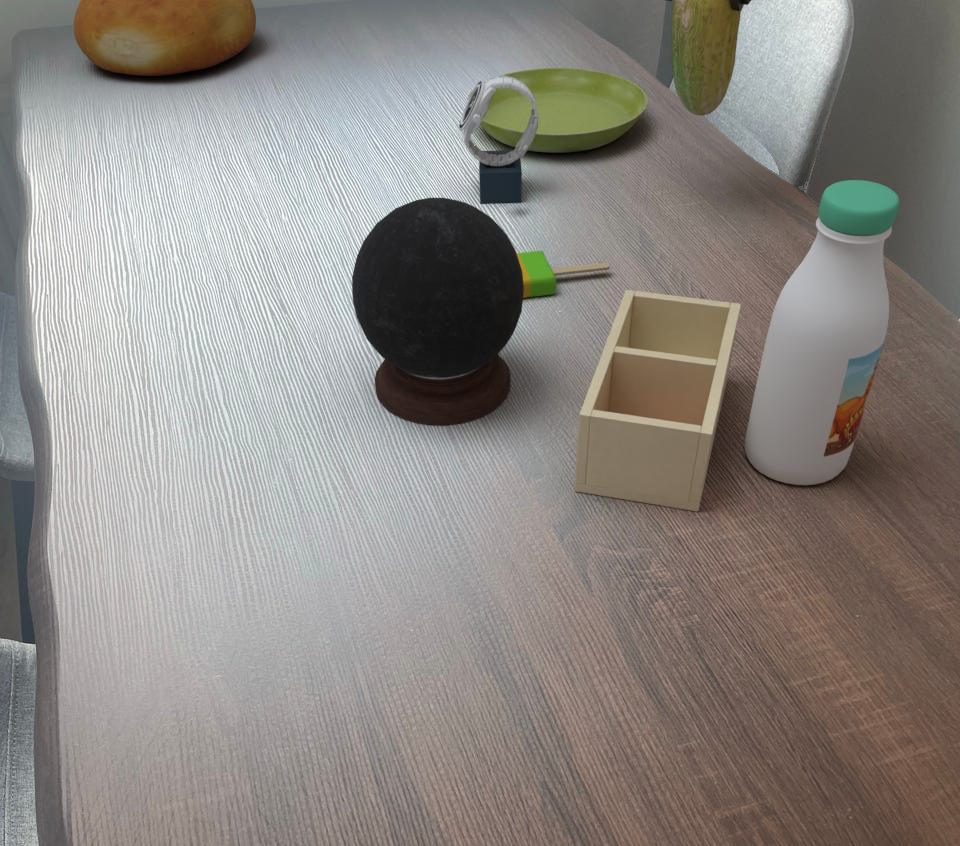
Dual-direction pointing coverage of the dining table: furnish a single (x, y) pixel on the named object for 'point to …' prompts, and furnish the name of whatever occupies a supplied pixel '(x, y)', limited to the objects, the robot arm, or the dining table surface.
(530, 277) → the popsicle
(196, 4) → the bread
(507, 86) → the watch
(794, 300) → the milk bottle
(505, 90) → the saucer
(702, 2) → the vegetable
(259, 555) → the dining table surface
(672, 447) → the wooden divided box
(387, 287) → the black ball on stand
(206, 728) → the dining table surface
